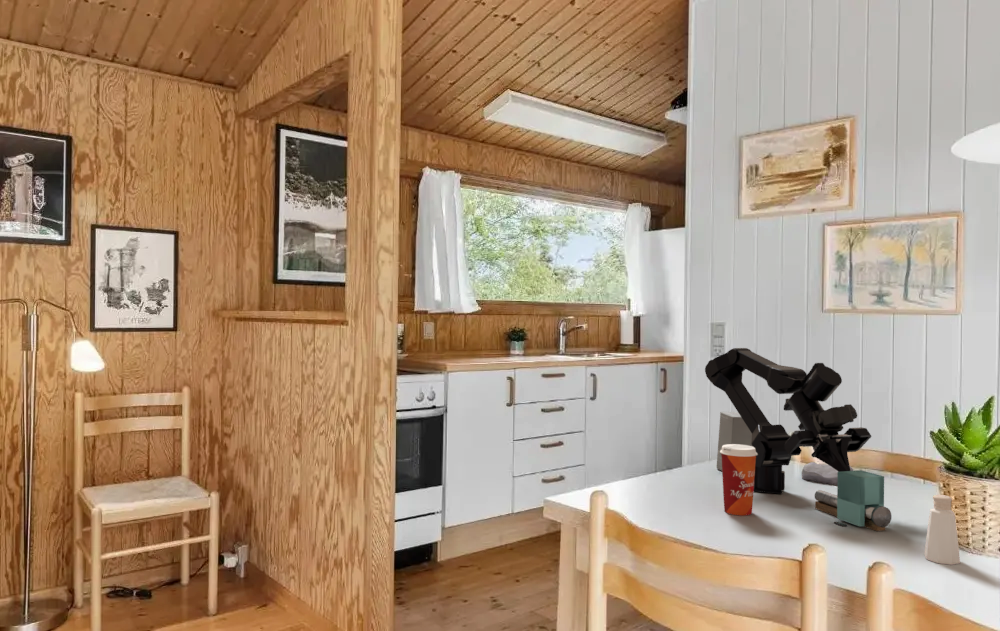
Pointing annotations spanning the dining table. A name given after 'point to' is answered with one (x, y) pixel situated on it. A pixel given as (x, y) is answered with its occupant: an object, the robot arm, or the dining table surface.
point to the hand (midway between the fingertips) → (848, 474)
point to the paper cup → (738, 478)
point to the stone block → (820, 473)
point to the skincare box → (732, 433)
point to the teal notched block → (858, 495)
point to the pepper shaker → (942, 533)
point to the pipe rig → (873, 516)
